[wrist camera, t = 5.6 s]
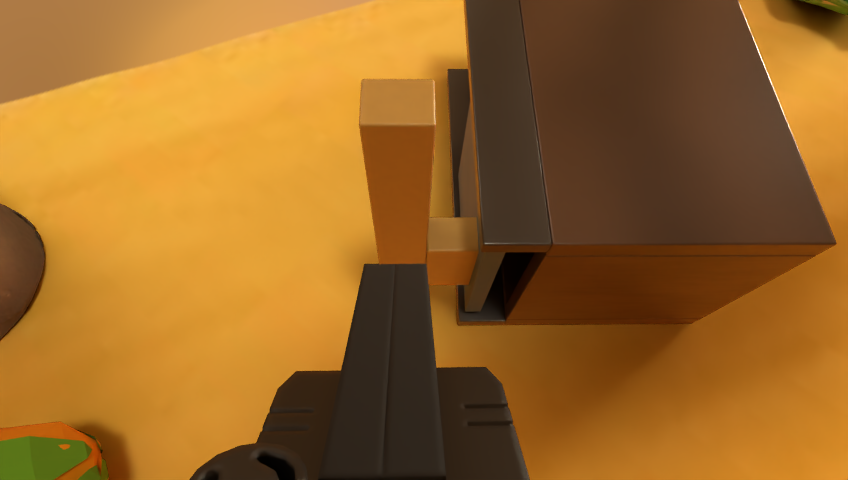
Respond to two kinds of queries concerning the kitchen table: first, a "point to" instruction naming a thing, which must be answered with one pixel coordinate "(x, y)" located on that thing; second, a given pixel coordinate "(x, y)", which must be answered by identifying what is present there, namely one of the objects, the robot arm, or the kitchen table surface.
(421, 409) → the robot arm
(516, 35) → the box
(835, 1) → the snack package
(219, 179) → the kitchen table surface
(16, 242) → the pillar candle
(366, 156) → the sliding door
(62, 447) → the corn
